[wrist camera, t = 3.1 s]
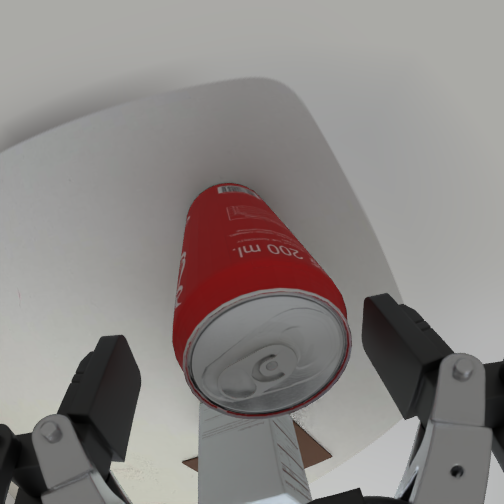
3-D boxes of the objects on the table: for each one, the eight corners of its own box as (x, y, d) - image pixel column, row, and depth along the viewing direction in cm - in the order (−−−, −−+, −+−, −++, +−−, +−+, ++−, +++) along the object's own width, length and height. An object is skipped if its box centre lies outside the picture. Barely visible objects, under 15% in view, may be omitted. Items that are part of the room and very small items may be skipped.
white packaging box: (233, 437, 31) (241, 533, 20) (197, 402, 29) (194, 513, 17) (293, 416, 31) (317, 515, 19) (264, 377, 28) (286, 494, 16)
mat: (293, 420, 31) (293, 421, 31) (332, 455, 35) (332, 456, 35) (182, 461, 33) (181, 462, 33) (234, 490, 37) (234, 491, 37)
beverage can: (178, 194, 21) (103, 309, 7) (269, 170, 21) (357, 246, 7) (201, 270, 23) (184, 442, 10) (286, 248, 23) (364, 402, 10)
